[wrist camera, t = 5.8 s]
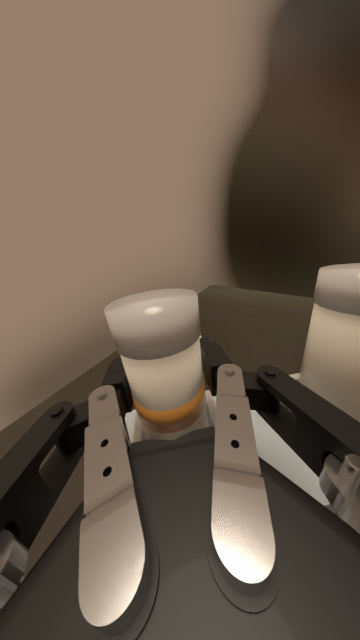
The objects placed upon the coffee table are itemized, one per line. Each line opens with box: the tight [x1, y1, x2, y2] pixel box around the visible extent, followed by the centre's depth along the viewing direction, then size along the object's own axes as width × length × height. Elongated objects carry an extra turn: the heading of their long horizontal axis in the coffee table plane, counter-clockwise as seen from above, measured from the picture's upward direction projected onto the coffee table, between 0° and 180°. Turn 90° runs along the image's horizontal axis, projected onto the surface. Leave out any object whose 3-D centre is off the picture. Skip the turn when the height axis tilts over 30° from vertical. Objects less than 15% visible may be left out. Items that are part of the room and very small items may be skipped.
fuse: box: [298, 263, 360, 422], centre depth 12 cm, size 5×5×12 cm
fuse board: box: [125, 373, 337, 514], centre depth 14 cm, size 22×9×4 cm, turn 97°
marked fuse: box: [104, 288, 209, 440], centre depth 11 cm, size 5×5×12 cm
